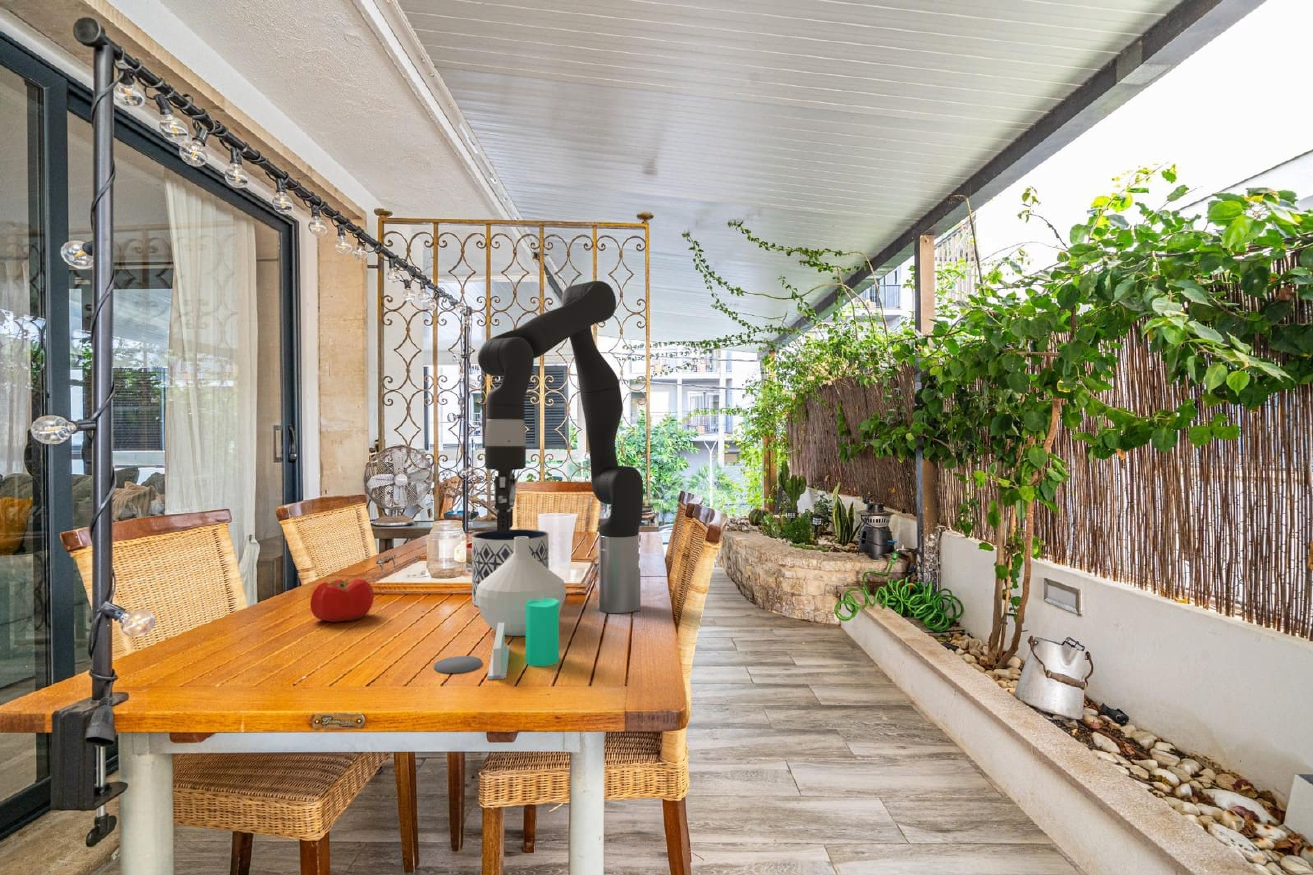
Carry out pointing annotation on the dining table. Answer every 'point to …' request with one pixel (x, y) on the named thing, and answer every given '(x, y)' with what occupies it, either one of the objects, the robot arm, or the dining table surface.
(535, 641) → the candle
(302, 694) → the dining table surface
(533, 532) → the planter
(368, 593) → the tomato
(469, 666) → the coaster
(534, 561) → the vase
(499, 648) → the divider wall
